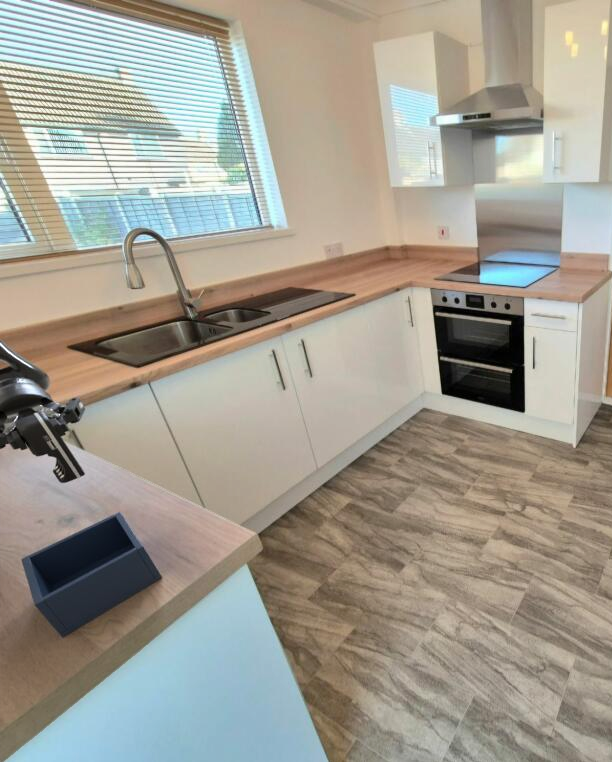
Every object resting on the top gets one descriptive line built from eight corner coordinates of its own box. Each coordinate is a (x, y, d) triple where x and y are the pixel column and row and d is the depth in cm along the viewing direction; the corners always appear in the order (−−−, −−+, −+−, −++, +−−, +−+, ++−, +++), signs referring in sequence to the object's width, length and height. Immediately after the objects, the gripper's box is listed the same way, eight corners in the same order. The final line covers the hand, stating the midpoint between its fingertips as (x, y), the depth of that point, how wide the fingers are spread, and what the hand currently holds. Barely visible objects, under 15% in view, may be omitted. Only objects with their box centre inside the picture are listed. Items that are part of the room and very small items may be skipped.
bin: (62, 637, 58) (34, 605, 55) (46, 590, 65) (20, 559, 62) (162, 577, 66) (143, 546, 63) (138, 541, 73) (120, 511, 70)
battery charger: (48, 474, 74) (8, 418, 68) (76, 462, 76) (40, 408, 71) (57, 489, 70) (16, 431, 65) (87, 476, 73) (50, 419, 67)
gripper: (85, 408, 84) (109, 435, 74) (-22, 443, 74) (-10, 480, 64) (65, 374, 80) (87, 398, 71) (-50, 406, 70) (-42, 439, 61)
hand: (40, 437), depth 68 cm, fingers closed on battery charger, 4 cm apart
